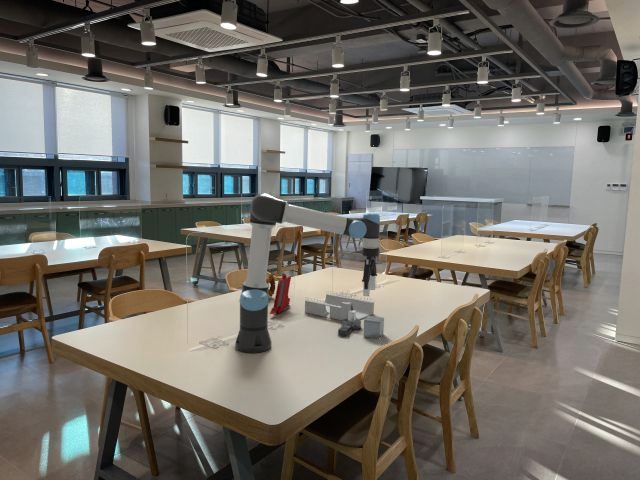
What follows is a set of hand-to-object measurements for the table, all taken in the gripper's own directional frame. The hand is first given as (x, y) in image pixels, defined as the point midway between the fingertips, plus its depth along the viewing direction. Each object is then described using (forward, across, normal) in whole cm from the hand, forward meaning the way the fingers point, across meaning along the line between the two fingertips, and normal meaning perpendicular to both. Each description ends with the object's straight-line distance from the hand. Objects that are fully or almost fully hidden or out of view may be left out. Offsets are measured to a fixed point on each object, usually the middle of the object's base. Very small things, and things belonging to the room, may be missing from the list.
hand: (369, 292), depth 219 cm
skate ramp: (+20, +27, +22) cm, 40 cm away
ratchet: (+20, +8, +10) cm, 23 cm away
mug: (+19, +42, +72) cm, 85 cm away
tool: (+23, +18, +52) cm, 60 cm away
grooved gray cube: (+20, -1, -3) cm, 20 cm away
